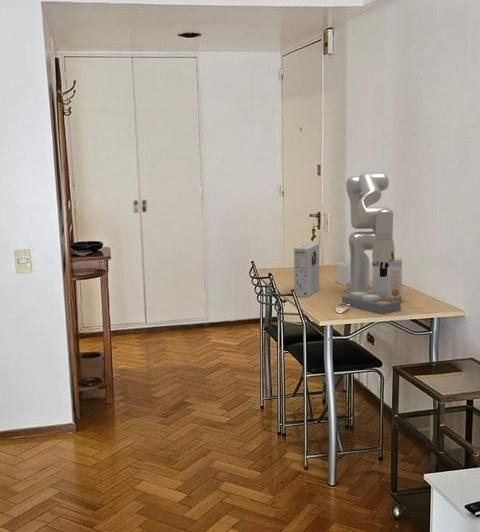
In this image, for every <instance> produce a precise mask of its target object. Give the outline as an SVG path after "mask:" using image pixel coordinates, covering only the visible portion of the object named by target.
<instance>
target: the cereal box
mask: <svg viewBox="0 0 480 532" xmlns="http://www.w3.org/2000/svg"><path fill="white" fill-rule="evenodd" d="M293 271H294V272H293V276H294V277H293V281H294V283H293V285H294V288H293V291H295V293H296V295H297V296H298V297H297V298H299V297H300V298H309V297H311V296H312V295H314V294H315V293H316V292H317V291H319V290H320V243H319V242H305V243H302V244H300V245H298V246H295V247H294V248H293Z"/></svg>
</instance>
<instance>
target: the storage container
mask: <svg viewBox="0 0 480 532" xmlns="http://www.w3.org/2000/svg"><path fill="white" fill-rule="evenodd" d="M372 271H373V259H372V260H369V283H370V284H371V283H372V281H371V280H372V279H371V278H372ZM337 282H338V283H337ZM349 282H350V262H349V261H347V262H338V263H336V283H337V284H340V283H341V284H340V285H343V286H345V285H346V284H348V283H349Z"/></svg>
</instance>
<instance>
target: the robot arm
mask: <svg viewBox="0 0 480 532" xmlns="http://www.w3.org/2000/svg"><path fill="white" fill-rule="evenodd" d="M389 183H390V181H389V176H388V175H387V174H386V173H385V172H365V173H362V174H360V175H354V176H350V177H348V178H347V180H346V184H345V189H346V193H347V195H348V196H347V197H348V199H349V205H350V223H351V224H350V225H351V227H352V228H353V229H355V230H369V231H355V232H352V233H351V234H350V235H349V236H348V245H349V253H350V258H349V259H350V281H348V284H346V287H348V289H347V290H346V293H347V294H350V293H353V292H364V293H368V294H372V289H371V288H370V287H369V286H370V284H369V261H370V258H369V256H368V254H367V253H366V252H365V251H372V253H371V256H372V257H371V258H372V260H374V262H375V263H377V264H378V265H379V268H380V277H386V276H387V268H388V267H389V266H390V265H393V261H394V258H396V257H395V244H394V243H395V242H394V239H393V236H394V211H393V210H392V209H390V208H389V207H386V206H385V207H384V206H383V207H382V206H379V207H378V206H377V207H376V206H374V207H372V205H374V204H376V203H378V202H379V201H380V200H381V198H382V192H384V191H386V190H387V189H388V188H389ZM370 206H371V207H370ZM370 229H371V230H372V231H370Z"/></svg>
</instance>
